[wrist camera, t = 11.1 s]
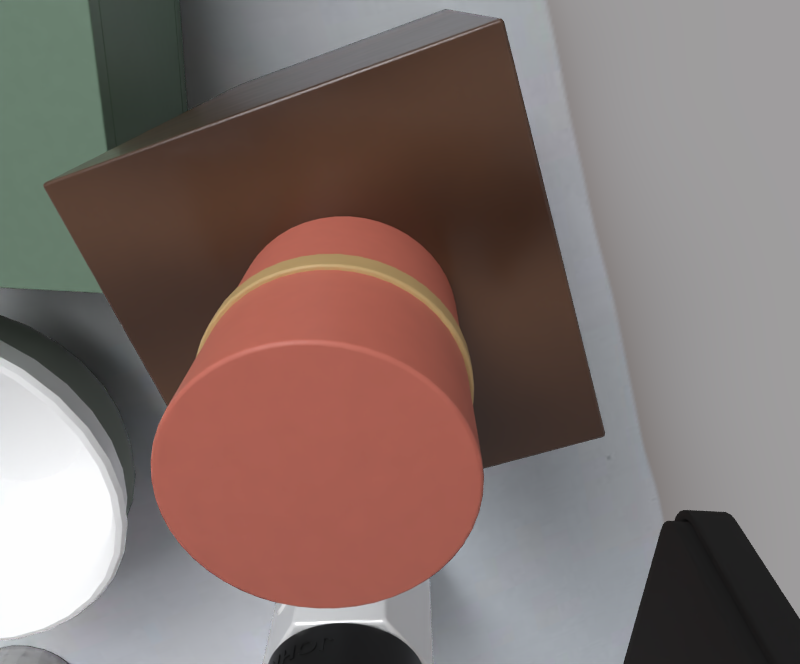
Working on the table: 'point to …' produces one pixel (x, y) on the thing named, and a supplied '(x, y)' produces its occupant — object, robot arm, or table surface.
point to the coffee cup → (28, 656)
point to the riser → (353, 211)
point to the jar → (355, 632)
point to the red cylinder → (326, 423)
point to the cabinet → (74, 114)
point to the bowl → (56, 483)
